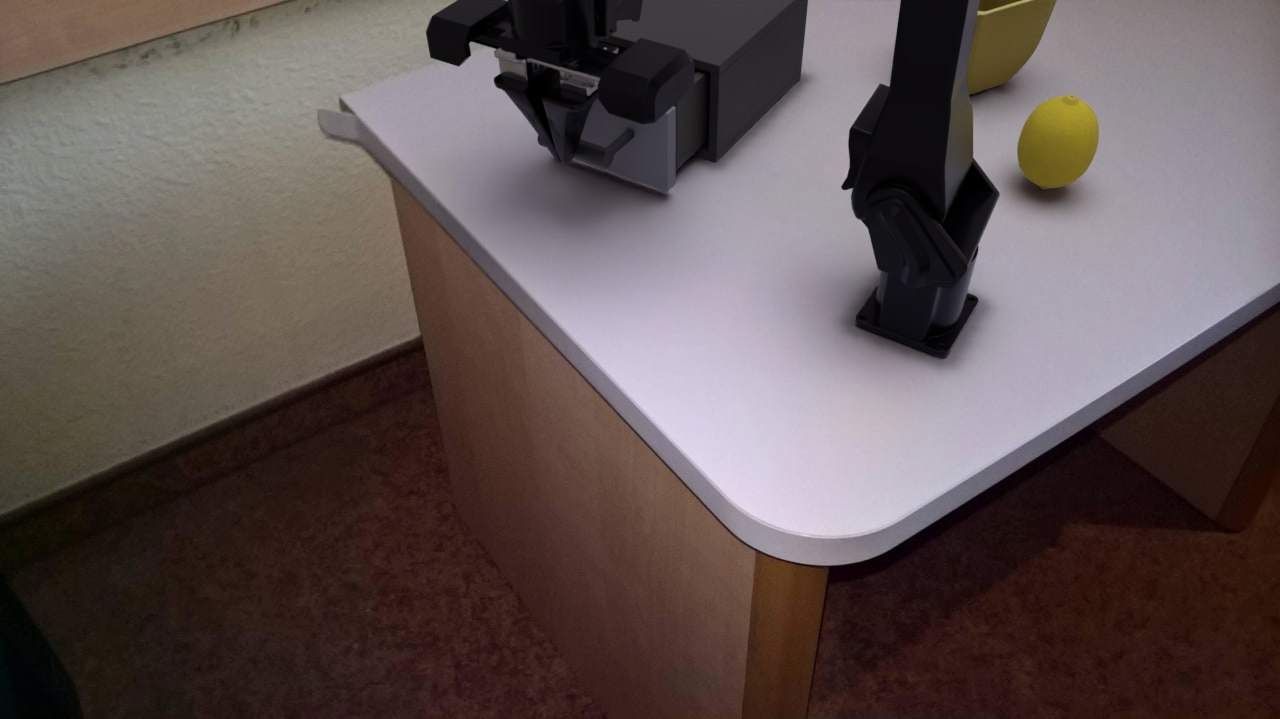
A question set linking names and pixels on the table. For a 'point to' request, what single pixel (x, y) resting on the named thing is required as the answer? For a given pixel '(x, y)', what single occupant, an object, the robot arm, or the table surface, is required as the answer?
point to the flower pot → (1004, 40)
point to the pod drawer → (647, 138)
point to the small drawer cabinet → (728, 54)
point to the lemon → (1058, 142)
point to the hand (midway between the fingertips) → (565, 160)
